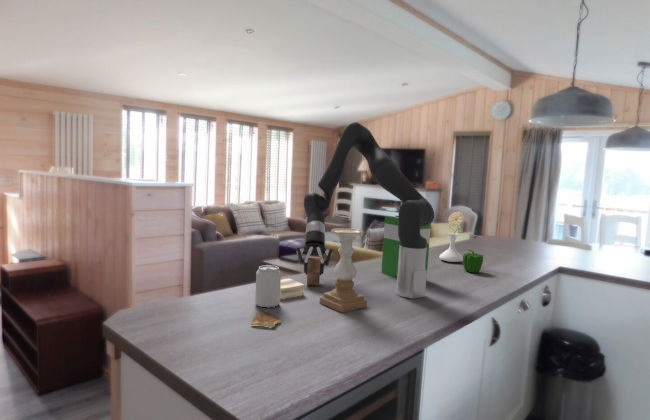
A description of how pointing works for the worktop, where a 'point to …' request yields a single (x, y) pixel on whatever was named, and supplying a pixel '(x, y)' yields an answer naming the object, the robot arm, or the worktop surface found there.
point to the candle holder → (344, 275)
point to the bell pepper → (472, 261)
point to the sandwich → (265, 319)
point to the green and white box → (397, 245)
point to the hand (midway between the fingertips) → (313, 273)
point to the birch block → (291, 288)
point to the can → (268, 286)
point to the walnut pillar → (313, 270)
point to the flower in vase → (453, 239)
